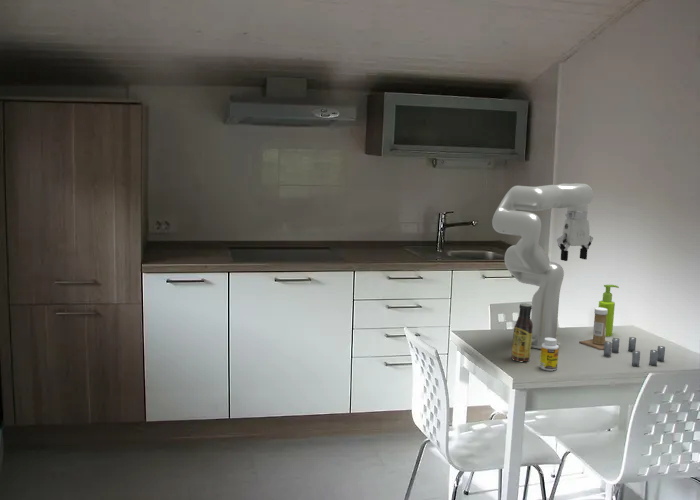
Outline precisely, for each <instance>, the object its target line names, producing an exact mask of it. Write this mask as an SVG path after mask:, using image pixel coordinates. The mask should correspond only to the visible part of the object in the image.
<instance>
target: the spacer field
mask: <svg viewBox="0 0 700 500" xmlns="http://www.w3.org/2000/svg"><path fill="white" fill-rule="evenodd" d="M605 341H606V342H605V343H604V350H603V357H606V358H610V357H611V354H612V353H613V354H618V353H619V350H620V338H618V337H612V341H608V340H605ZM607 341H608V342H607ZM636 343H637V338H636V337H633V336H629V338H628V348H627V352H628V353H629V352H630V353H632V355H631V356H632V358H631V366H632V367H634V368H639V367H640V360H641V351H639V350H636V348H637V347H636V345H637V344H636ZM611 346H612V348H611ZM665 353H666V347H665V346H663V345H658V346H657V349H656V350H655V349H650V352H649V359H648V360H649V361H648V364H649V366H651V367H657V365H658V362H661V363H664V361H665V355H666V354H665Z"/></svg>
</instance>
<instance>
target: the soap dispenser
mask: <svg viewBox="0 0 700 500" xmlns="http://www.w3.org/2000/svg"><path fill="white" fill-rule="evenodd" d="M603 287H604V288H605V291H604V292H603V293H602V300H599V301H598V307H601V308H606V309H607V310H608V312H607V318H606V335H605V337H613V328H614V317H615V316H614V315H615V306H616V305H615V304H616V303H615V302H614V301H613V293H611V288H617V289H619V288H620V287H619V286H618V285H615V284H603Z"/></svg>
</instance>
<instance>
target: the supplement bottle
mask: <svg viewBox="0 0 700 500" xmlns="http://www.w3.org/2000/svg"><path fill="white" fill-rule="evenodd" d="M557 341H558V340H557V338H556V339H555V338H545V339H544V343H543V344H542V346H541V349H540V358H539V359H540V360H539V368H540V369H541V370H544V371H548V372H549V371H551V372H553V370H554V371H556V370H557V369H558V360H559V359H558V358H559V348H560V347H559V346H558V345H557Z"/></svg>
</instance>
